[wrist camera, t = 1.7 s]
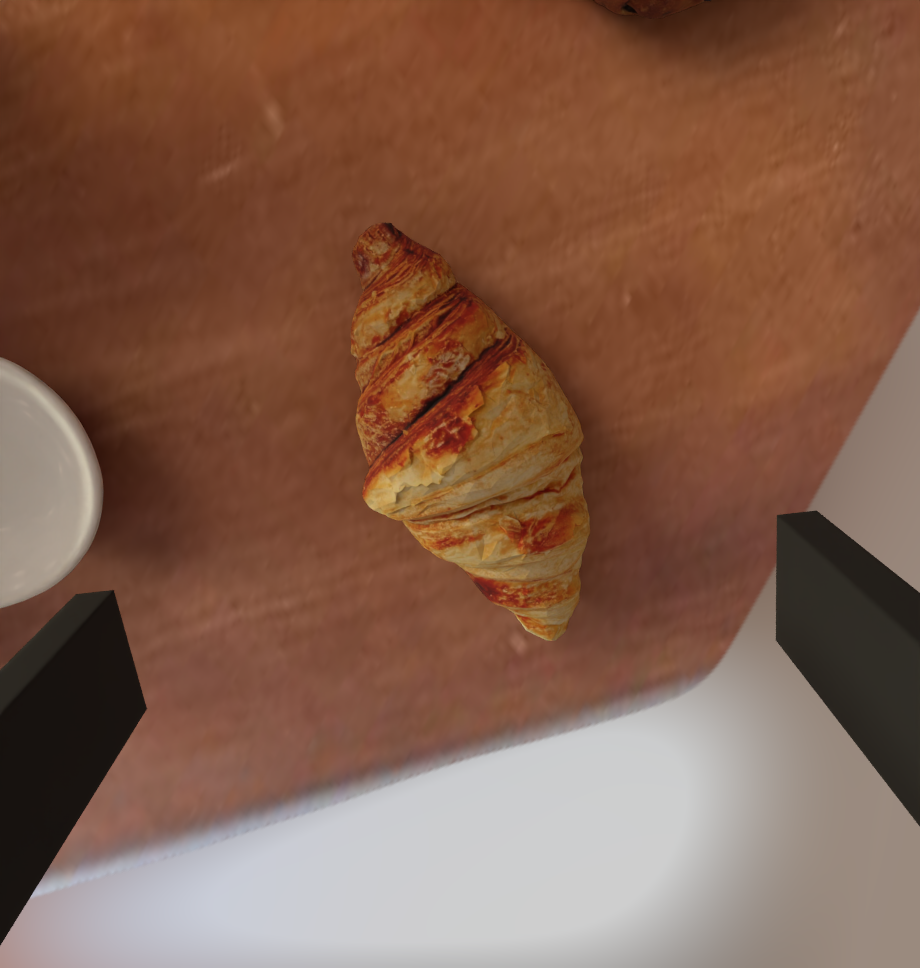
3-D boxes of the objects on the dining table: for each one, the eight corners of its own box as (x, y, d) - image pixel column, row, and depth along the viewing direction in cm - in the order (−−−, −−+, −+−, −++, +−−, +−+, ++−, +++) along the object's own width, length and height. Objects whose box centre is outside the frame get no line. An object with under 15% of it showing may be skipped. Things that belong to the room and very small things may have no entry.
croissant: (593, 567, 44) (695, 601, 37) (449, 675, 41) (531, 735, 34) (426, 199, 38) (511, 155, 31) (238, 292, 34) (285, 267, 27)
